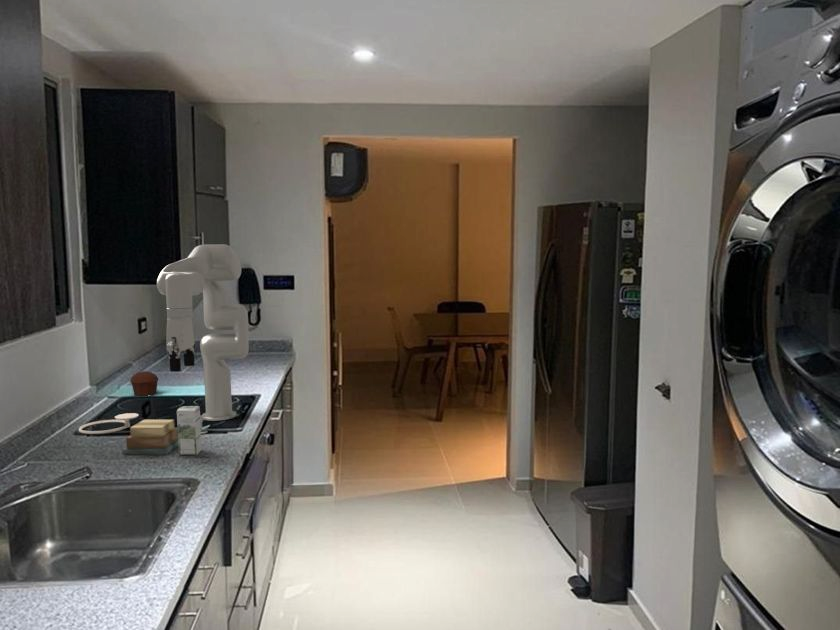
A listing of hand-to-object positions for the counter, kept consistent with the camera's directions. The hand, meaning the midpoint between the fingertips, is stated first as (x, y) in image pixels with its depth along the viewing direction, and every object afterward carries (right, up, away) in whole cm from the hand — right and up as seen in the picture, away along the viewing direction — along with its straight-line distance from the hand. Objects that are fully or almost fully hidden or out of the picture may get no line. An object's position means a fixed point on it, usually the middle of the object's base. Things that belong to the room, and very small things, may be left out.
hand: (182, 368), depth 219 cm
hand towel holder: (-38, -24, +35) cm, 57 cm away
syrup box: (+1, -27, +3) cm, 27 cm away
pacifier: (-3, -25, +26) cm, 36 cm away
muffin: (-46, -18, +88) cm, 101 cm away
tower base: (-12, -26, +9) cm, 30 cm away
